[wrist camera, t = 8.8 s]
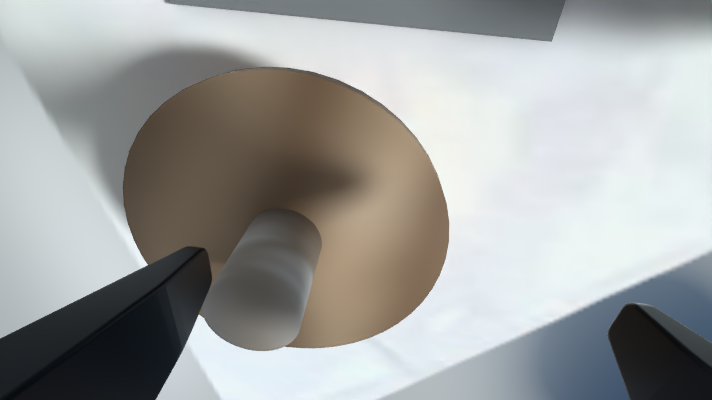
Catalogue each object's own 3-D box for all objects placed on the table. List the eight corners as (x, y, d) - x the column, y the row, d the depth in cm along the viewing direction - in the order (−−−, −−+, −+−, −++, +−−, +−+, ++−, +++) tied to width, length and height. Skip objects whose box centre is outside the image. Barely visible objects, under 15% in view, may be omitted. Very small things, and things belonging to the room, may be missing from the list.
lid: (483, 88, 11) (543, 132, 7) (415, 348, 17) (425, 454, 13) (97, 48, 11) (-68, 68, 7) (167, 318, 18) (100, 413, 14)
